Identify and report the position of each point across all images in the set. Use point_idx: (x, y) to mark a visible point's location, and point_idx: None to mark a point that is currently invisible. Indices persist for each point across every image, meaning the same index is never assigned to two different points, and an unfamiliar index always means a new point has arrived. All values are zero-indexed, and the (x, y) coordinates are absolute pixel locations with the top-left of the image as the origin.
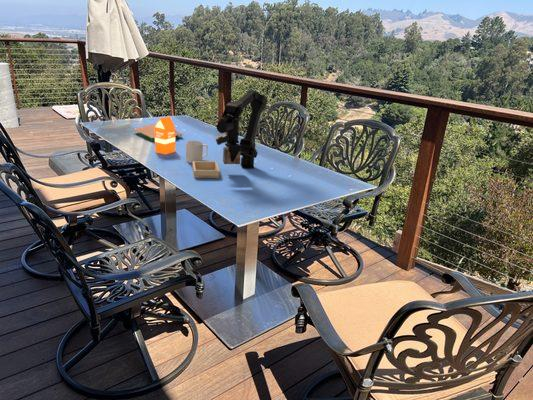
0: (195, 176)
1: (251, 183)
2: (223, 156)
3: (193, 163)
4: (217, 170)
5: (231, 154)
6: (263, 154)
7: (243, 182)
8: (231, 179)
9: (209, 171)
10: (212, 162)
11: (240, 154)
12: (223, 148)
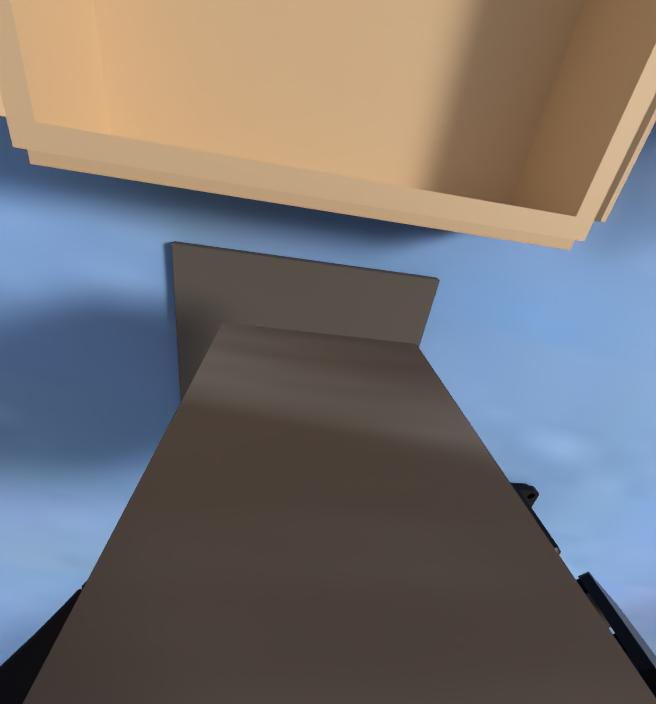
0: None
1: (44, 463)
2: (387, 402)
3: None
4: (112, 135)
5: (18, 674)
6: (646, 620)
7: (58, 410)
8: (139, 320)
9: None
10: (586, 169)
11: (583, 586)
12: (598, 672)
